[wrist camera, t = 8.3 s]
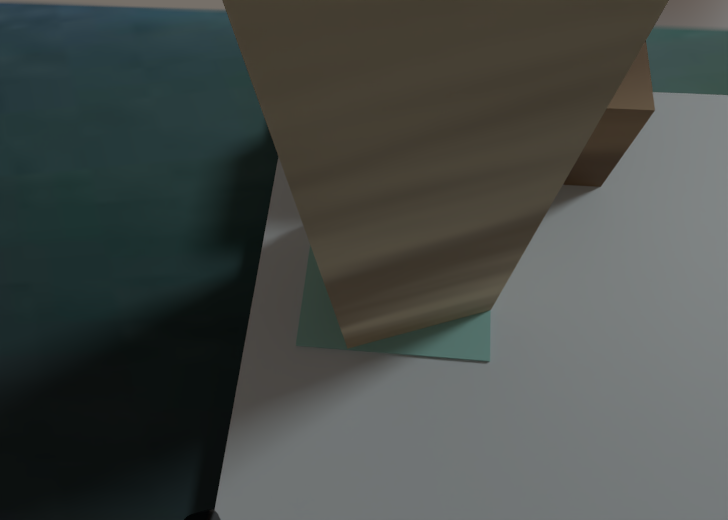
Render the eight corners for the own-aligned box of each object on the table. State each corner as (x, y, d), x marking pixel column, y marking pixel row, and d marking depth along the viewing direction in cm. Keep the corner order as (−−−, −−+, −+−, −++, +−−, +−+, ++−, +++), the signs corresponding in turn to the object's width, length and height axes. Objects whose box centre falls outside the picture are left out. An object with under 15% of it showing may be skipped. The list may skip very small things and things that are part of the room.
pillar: (490, 310, 16) (765, -168, 4) (347, 348, 16) (208, -40, 4) (445, 185, 18) (547, -406, 6) (314, 219, 18) (147, -326, 6)
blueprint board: (930, 956, 12) (982, 1003, 10) (168, 831, 13) (149, 862, 12) (751, 114, 20) (771, 94, 19) (297, 95, 21) (292, 75, 20)
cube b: (600, 186, 18) (655, 110, 14) (478, 180, 18) (500, 103, 14) (592, 89, 19) (639, -3, 16) (480, 85, 20) (500, -7, 16)
